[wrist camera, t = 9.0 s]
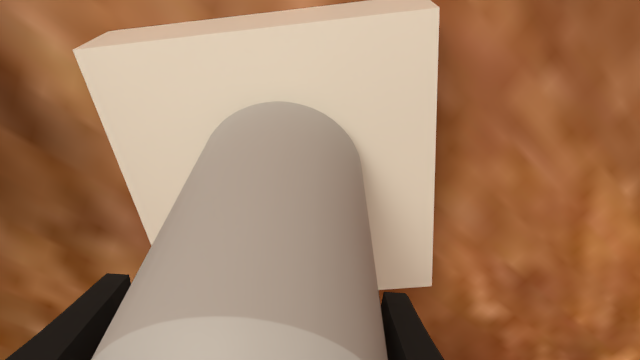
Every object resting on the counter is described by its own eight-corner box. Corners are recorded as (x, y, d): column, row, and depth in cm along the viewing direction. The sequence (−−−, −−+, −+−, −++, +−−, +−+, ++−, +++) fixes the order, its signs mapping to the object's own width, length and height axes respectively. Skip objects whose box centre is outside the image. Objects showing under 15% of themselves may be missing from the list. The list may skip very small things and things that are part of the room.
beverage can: (391, 174, 18) (478, 513, 8) (280, 251, 20) (233, 593, 10) (287, 58, 16) (215, 328, 5) (173, 160, 18) (-34, 489, 8)
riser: (190, 264, 25) (175, 305, 22) (108, 31, 18) (72, 49, 16) (420, 246, 24) (431, 286, 21) (422, -6, 17) (439, 7, 15)
